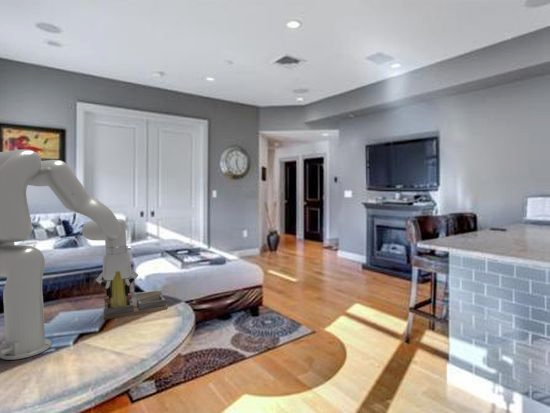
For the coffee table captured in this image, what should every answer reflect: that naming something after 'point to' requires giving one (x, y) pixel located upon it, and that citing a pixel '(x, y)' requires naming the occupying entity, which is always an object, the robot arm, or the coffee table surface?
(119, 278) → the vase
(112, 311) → the socket board
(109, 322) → the coffee table surface
